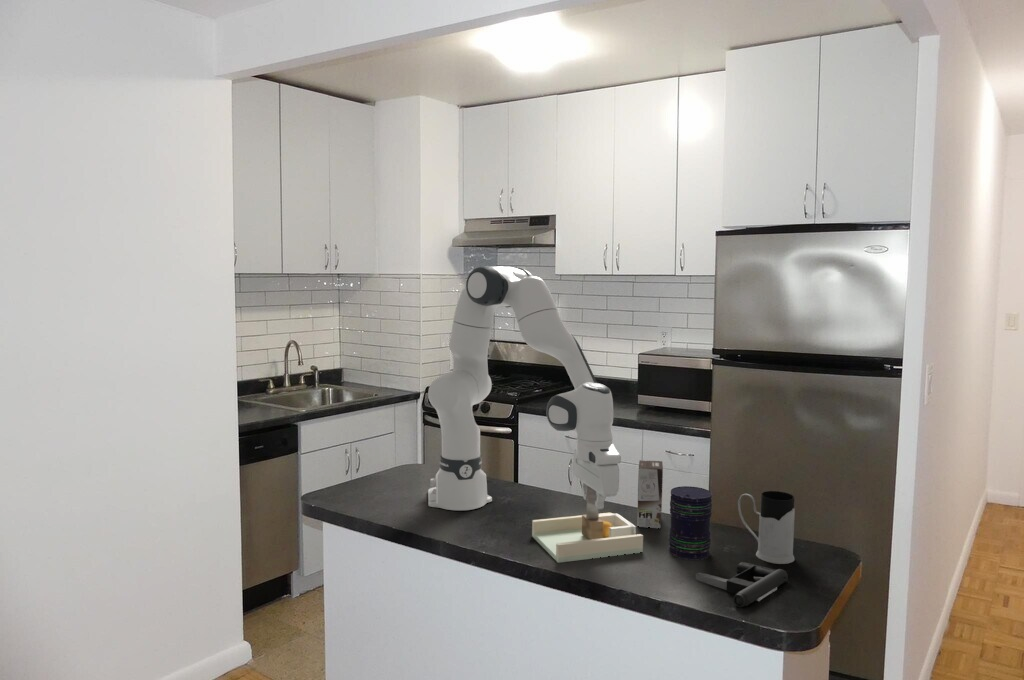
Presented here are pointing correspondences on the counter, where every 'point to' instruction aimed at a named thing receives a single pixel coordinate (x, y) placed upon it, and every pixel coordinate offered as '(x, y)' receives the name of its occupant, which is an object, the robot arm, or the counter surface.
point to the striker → (592, 518)
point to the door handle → (748, 582)
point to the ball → (606, 529)
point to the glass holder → (774, 526)
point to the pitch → (571, 545)
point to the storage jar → (690, 522)
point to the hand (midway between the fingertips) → (593, 503)
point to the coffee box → (650, 494)
